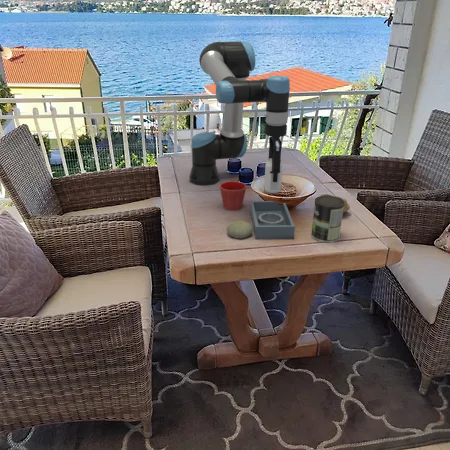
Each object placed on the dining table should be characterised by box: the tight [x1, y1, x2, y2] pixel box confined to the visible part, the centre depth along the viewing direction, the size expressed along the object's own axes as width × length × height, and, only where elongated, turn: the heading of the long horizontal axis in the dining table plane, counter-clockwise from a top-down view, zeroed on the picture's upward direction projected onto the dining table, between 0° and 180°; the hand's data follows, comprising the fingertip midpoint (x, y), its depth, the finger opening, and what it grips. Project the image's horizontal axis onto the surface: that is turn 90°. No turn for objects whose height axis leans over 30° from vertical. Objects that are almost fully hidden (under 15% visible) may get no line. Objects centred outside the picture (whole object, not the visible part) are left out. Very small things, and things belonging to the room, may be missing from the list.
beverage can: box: [263, 158, 284, 194], centre depth 149 cm, size 6×6×12 cm
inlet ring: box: [258, 213, 284, 226], centre depth 157 cm, size 10×10×2 cm
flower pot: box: [219, 180, 247, 211], centre depth 172 cm, size 11×11×10 cm
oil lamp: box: [320, 193, 351, 214], centre depth 167 cm, size 11×15×8 cm
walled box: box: [249, 200, 296, 240], centre depth 157 cm, size 24×14×5 cm, turn 1°
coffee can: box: [310, 195, 345, 244], centre depth 146 cm, size 10×10×14 cm
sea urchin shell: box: [226, 220, 253, 239], centre depth 150 cm, size 9×8×8 cm
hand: (272, 186), depth 151 cm, fingers closed on beverage can, 6 cm apart
